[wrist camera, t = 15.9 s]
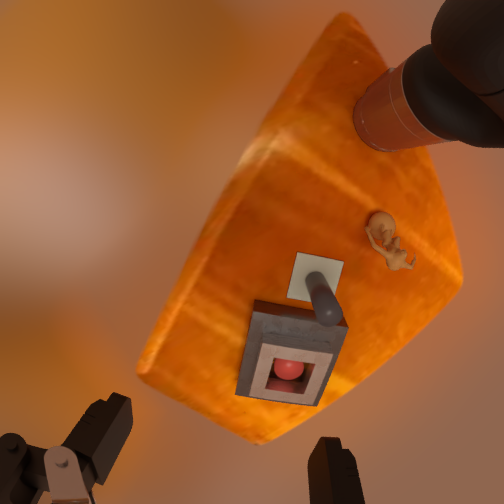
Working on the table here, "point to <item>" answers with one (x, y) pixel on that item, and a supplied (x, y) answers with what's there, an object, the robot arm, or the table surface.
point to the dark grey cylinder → (323, 300)
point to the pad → (311, 264)
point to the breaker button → (288, 368)
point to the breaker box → (288, 354)
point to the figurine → (387, 241)
